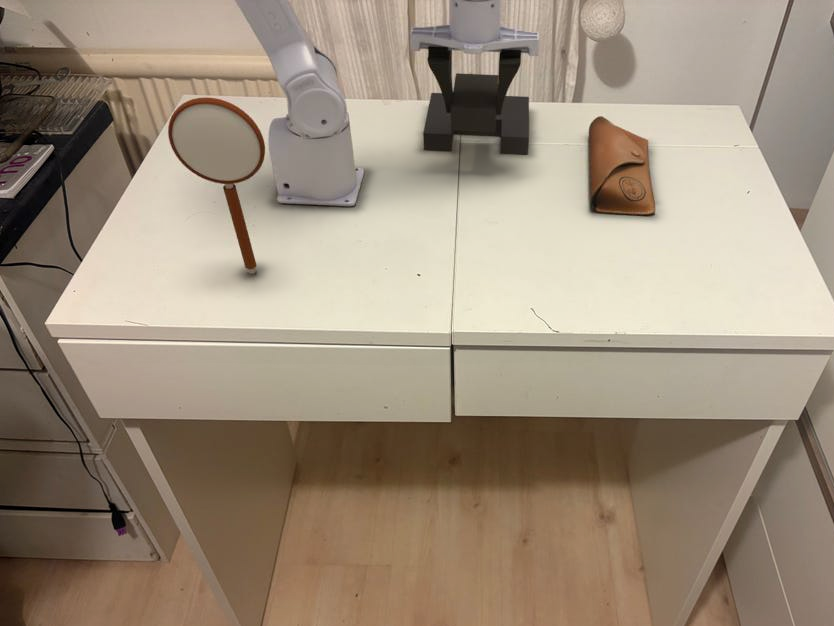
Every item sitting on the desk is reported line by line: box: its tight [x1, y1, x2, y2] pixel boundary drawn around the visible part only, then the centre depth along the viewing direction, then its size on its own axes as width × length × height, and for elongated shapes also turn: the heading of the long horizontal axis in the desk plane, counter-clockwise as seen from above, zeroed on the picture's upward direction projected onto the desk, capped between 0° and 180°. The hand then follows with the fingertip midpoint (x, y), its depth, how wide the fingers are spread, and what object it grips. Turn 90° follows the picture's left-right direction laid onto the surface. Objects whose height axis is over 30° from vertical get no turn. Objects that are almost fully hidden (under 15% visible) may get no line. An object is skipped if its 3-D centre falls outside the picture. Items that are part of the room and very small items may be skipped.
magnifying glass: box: [167, 97, 266, 275], centre depth 70 cm, size 9×2×20 cm, turn 90°
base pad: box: [422, 92, 530, 155], centre depth 99 cm, size 14×12×2 cm
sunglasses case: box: [588, 115, 656, 216], centre depth 91 cm, size 18×7×7 cm
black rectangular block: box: [451, 72, 499, 132], centre depth 89 cm, size 5×9×3 cm, turn 177°
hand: (473, 110), depth 87 cm, fingers closed on black rectangular block, 5 cm apart
